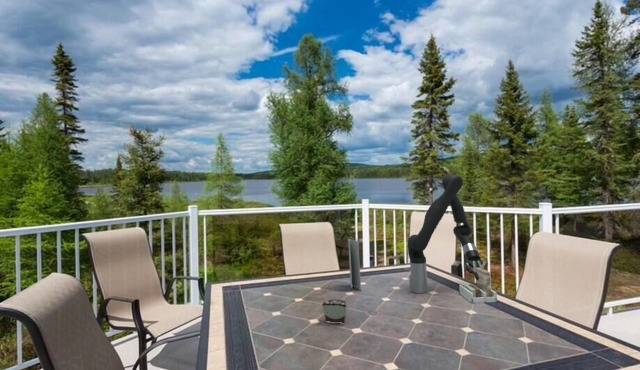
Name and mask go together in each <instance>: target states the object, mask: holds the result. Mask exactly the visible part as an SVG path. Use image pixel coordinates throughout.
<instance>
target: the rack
mask: <svg viewBox="0 0 640 370" xmlns="http://www.w3.org/2000/svg"><path fill="white" fill-rule="evenodd" d="M470 285H474V284H473V283H472V284H470ZM474 286H475V287H476V284H475V285H474ZM477 288H478V287H477ZM458 289H459V291H458V292H459V295H461V296H462V297H463V298H464V299H465V300H467V301H468V302H469V303H470V304H482V303H485V302H486V303H497V302H498V300H497V299H498V298H497V291H495V290H493V289H492V288H491V297H486V293H485V292H484V291H482V290H481V289H480V297H478V298H473V293H472V292H470V291H469V290H467V289H466V288H465V287H464V286H463V285H462V284H459V285H458ZM478 289H479V288H478Z"/></svg>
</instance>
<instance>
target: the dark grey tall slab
mask: <svg viewBox="0 0 640 370" xmlns="http://www.w3.org/2000/svg"><path fill="white" fill-rule="evenodd" d="M355 239H356V240H354V239H350V238H348V239H347V245H348V261H349V280H350V281H349V282H350V289H351V288H352V289H353V286H355V287H356V288H358V289H359V290H358V289H357V290H358V291H360V290H361V291H362V286H361V265H360V263H361V262H360V246H359V245H360V243H359V240H358V238H355ZM352 285H353V286H352ZM355 287H354V288H355ZM356 288H355V289H356Z"/></svg>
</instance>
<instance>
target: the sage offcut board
mask: <svg viewBox="0 0 640 370" xmlns="http://www.w3.org/2000/svg"><path fill="white" fill-rule="evenodd" d="M469 285H470V284H464V286H463V287H465V288H466V289H467V290H469V291H470V292H472V293H473V298H476V291H475V289H474V288H472V287H471V286H469Z"/></svg>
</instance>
